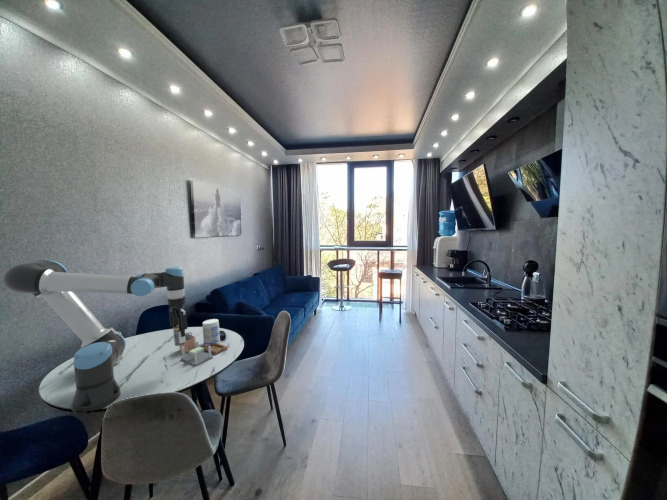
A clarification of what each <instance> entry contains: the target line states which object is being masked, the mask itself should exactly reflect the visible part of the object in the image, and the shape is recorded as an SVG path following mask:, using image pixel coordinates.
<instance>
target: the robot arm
mask: <svg viewBox="0 0 667 500" xmlns="http://www.w3.org/2000/svg"><path fill="white" fill-rule="evenodd" d="M183 270H184V269H183V268H182V267H181V266H172V267H166V268H165V271H163V272H149V273H148V272H147V273H140V274H137V275H136V276H130V275H129V276H127V275H115V274H114V275H113V274H97V273H95V274H93V273H79V272H76V273H75V272H68V270H67V267H65V266H64V265H63V264H62V263H60V262H58V261H55V260H50V259H49V260H48V259H46V260H45V259H41V260H36V261H31V262H25V263H20V264H16V265H14V266H12V267H10V268H9V269H8V270H6V271H5V273H4V275H3V277H2V281H3V284H4V286H5V287H6V288H7V289H8V290H10V291H12V292H15V293H20V294H33V296H34V297H35V298H40V299H44V301H46V303H48V305H49V306H50V307H51V308H52V309H53V310H54V312H55V313H56V314H57V315H58V316H59V317H60V318H61V320H63V321H64V323H66V325H67V326H68V327H69V328H70V329H71V330H72V332H73V333H74V334H75V335H76V336H77V337H78V338H79V339H80V340H81V342H82V343H81V344H80V348H79V349H78V350H76V352H75V353H74V354H73V361H72V364H73V368H74V369H73V371H74V378H75V389H76V390H75V393H74V396H73V399H72V402H71V411H72V412H73V413H75V414H86V413H88V412H87V411H91V412H95V411H97V410H100V409H102V408H105V407H106V406H109V405H110V404H112V403H113V402H114V401H115V402H116V400H117V399H118V398H119V397H120V396H121V387H120V385H119V384H118V382H117V380H116V379H115V375H114V374H115V373H114V372H115V371H114V366H113V363H114V362H115V361H116V360H117V358H118V357H119V356H120V355H121V354H122V353H123V354H124V351H125V348H126V345H127V344H126V343H127V341H126V339H125V337H124V336H123V335H122V334H121V335H120V334H118V333H117V334H116V333H114V332H113V331H112V330H111V329H110V328H106V327H104V326H103V324H102V323H101V322H100V321H99V320H98V319H97V318H96V316H95V315H94V314H93V312H92V311H90V309H89V307H87V305H85V303H84V302H83V301H82V300H81V299H80V298H79V296H77V294H76V293H95V294H96V293H97V294H99V293H100V294H101V293H102V294H126V295H127V294H128V295H129V294H130V295H134V296H137V297H146V296H148V295H150V294H151V293H152V292H153V291H154V290H155V289H161V288H166V295H167V296H166V297H167V305H168V306H169V308H168V314H169V324H170V327H172V329H173V327H174V326H177V325H179V330H178V332H179V343H183V342H186V339H185V333H186V330H188V321H187V320H188V315H187V314H188V311H187V310H184V305H185V304H186V297H185V295H186V289H185V280H184V279H185V278H184V277H185V276H184V271H183ZM172 332H173V334H174V329H173V330H172ZM123 354H122V355H123ZM76 411H82V412H76Z"/></svg>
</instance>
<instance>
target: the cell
mask: <svg viewBox="0 0 667 500" xmlns="http://www.w3.org/2000/svg"><path fill="white" fill-rule="evenodd" d="M172 329H174V333H173V341H174V346H176V347H178V346H179V345H183V344H185V342H183V343H179V332H178V330H179V325H177V326H174V327H173V328H172Z"/></svg>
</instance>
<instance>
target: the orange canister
mask: <svg viewBox="0 0 667 500" xmlns="http://www.w3.org/2000/svg"><path fill="white" fill-rule="evenodd" d="M185 339H186V342H185V344H183V345H179V353H182V347H185V354H186V353H189V351H190V350H193V349H195V348H196V342H197V341H196V336H195V335H193V332H191V331H190V332H189V331H188V332H185Z"/></svg>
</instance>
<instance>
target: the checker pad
mask: <svg viewBox="0 0 667 500" xmlns="http://www.w3.org/2000/svg"><path fill="white" fill-rule="evenodd" d="M195 352H197V353H200V352H202V353H203V352H205V351H204V348H203V347H201V346H199V347H197V348H195V349H193V350H190V351H189V352H188V355H190V354H192V355H194V353H195Z"/></svg>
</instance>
